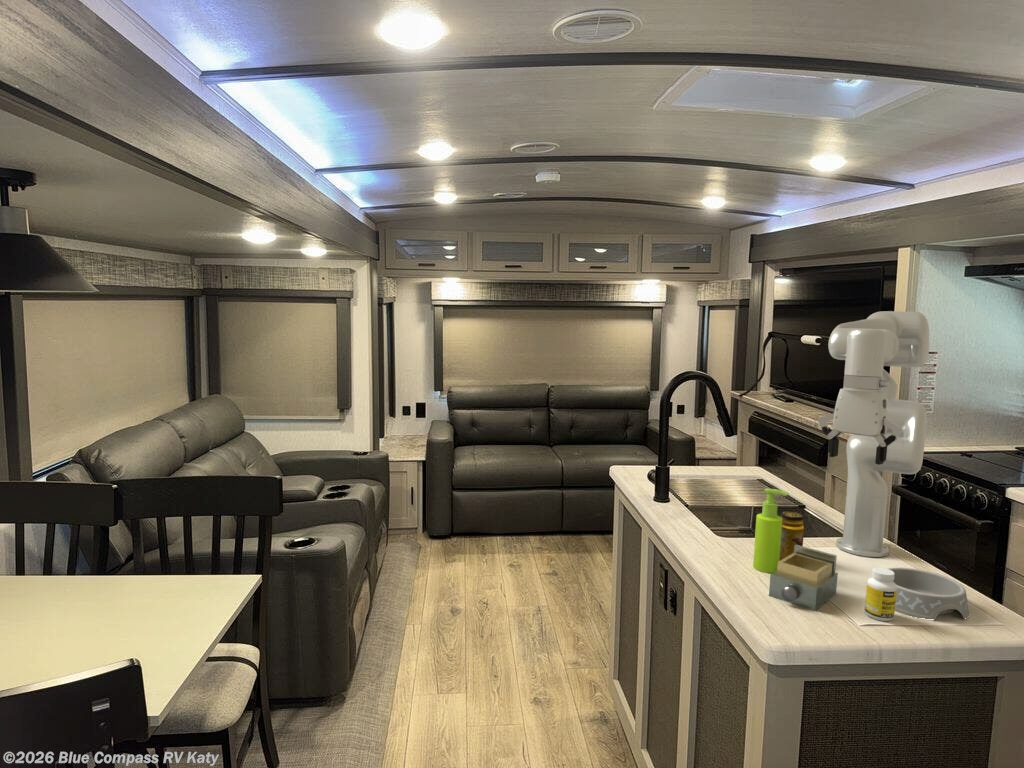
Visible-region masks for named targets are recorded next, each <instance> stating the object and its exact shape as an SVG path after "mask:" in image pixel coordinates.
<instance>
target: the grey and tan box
mask: <svg viewBox="0 0 1024 768" xmlns="http://www.w3.org/2000/svg"><path fill="white" fill-rule="evenodd" d="M837 558H838V557H837V555H836V554H833V553H829V552H825V551H822V550H817V549H815V548H810V547H806V546H804V545H803V546H800V545H795V546H794V553H792V554H791V555H789V556H787V557H786V558H784V559H782V560H781V561H779V562H778V564H777V570H776V571H775V572H773V573H769V574H770V576H769V592H768V596H770V597H773V598H775V599H778V600H781V601H784V602H787V603H790V604H792V605H796V606H799V607H801V608H805V609H808V610H811V611H813V612H815V611H817V610H819V609H820V608H821V607H822V606H824V605H825V604H827V602H829V601H830V600H831V599H832V598H834V597H835V596H837V587H838V586H837V585H838V572H836V570H837V560H838V559H837Z"/></svg>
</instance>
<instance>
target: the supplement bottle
mask: <svg viewBox="0 0 1024 768" xmlns="http://www.w3.org/2000/svg"><path fill="white" fill-rule="evenodd" d="M894 575H895V573H894V572H893V571H891V570H889V569H888V568H885V567H873V568H872V572H871V576H872V577H870V578H868V579H867V583H866V592H865V593H866V594H865V601H864V613H865V615H867V617H869V618H872V619H875V620H877V621H881V622H889V621H892V620H894V618H895V612H896V611H895V603H896V594H897V585H896V584H895V583H894V582H893V580H894Z"/></svg>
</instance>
